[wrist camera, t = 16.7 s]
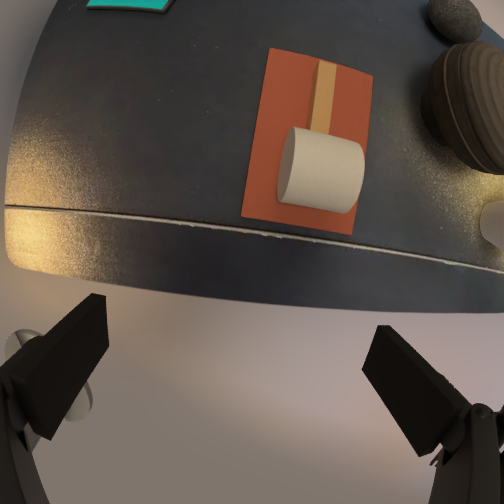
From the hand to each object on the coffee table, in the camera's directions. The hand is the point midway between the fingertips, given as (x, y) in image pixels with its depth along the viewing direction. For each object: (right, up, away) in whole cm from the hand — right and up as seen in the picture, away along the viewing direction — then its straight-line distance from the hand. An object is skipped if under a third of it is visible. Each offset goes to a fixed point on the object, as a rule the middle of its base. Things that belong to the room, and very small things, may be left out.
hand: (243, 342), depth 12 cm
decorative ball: (+33, +43, +15) cm, 56 cm away
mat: (+8, +18, +19) cm, 28 cm away
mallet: (+8, +18, +19) cm, 27 cm away
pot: (+30, +25, +19) cm, 43 cm away
